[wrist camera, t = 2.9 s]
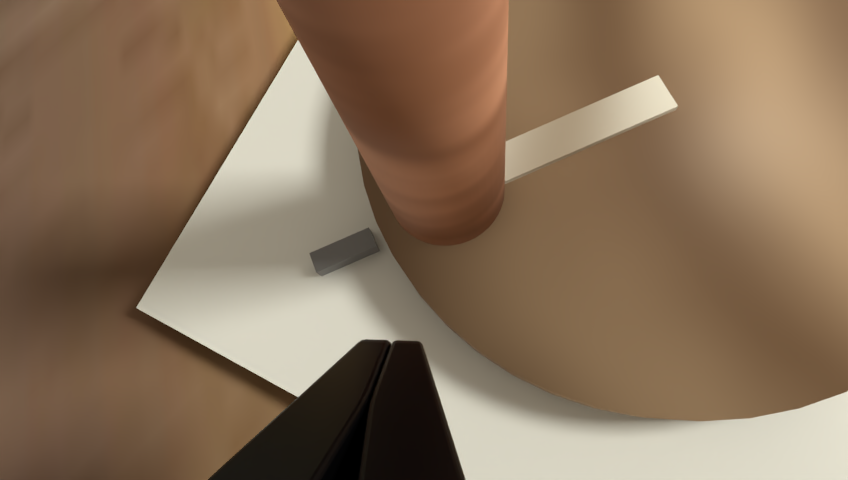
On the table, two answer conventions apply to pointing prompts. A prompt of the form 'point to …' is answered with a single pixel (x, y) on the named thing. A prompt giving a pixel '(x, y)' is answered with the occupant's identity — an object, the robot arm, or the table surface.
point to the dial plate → (416, 319)
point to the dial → (611, 187)
